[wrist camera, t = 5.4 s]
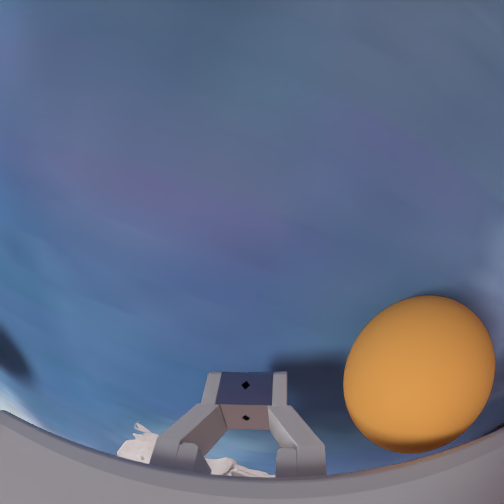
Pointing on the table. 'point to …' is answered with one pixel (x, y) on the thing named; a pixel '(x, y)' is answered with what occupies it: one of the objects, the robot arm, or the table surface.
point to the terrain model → (225, 466)
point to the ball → (419, 374)
